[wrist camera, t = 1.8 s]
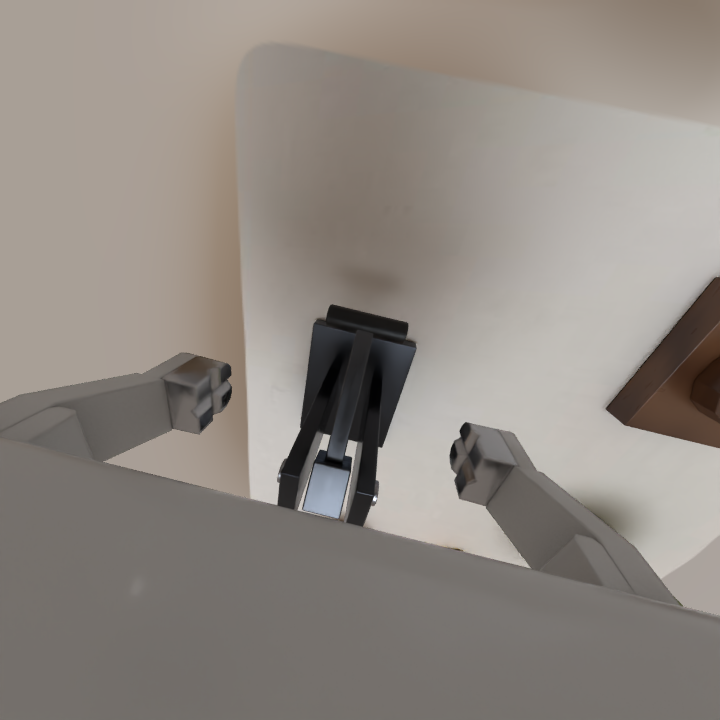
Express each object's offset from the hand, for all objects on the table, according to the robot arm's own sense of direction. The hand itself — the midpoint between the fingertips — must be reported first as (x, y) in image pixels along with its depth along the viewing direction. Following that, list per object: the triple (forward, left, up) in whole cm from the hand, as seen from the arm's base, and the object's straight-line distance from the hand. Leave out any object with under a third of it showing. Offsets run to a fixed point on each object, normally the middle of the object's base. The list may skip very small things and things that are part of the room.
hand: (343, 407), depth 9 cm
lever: (+5, 0, -7) cm, 8 cm away
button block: (-2, +28, -14) cm, 32 cm away
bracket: (+8, 0, -14) cm, 17 cm away
